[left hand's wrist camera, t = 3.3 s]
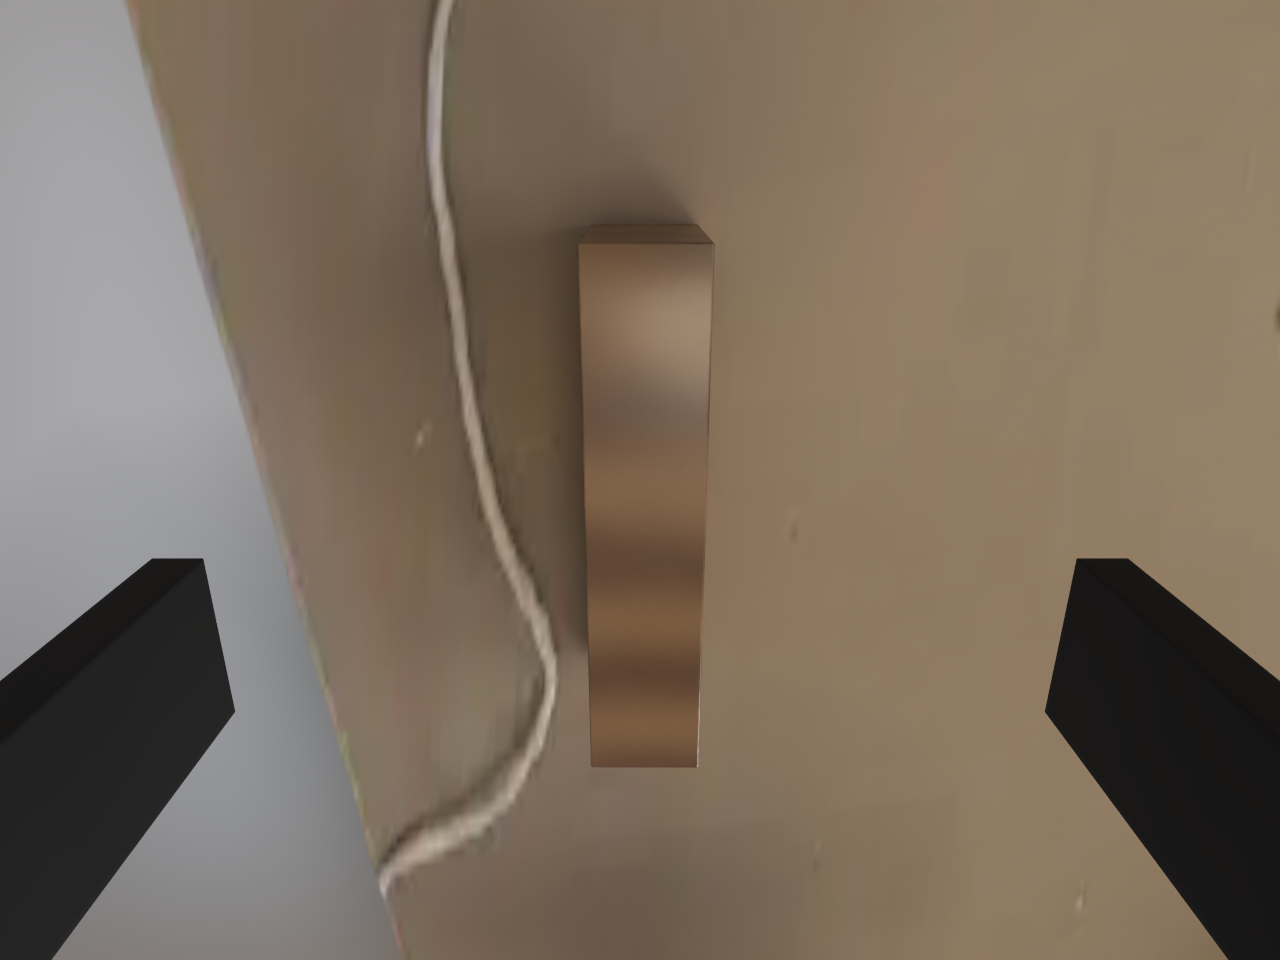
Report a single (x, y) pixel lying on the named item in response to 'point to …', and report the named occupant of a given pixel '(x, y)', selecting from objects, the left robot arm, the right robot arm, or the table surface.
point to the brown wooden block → (645, 485)
